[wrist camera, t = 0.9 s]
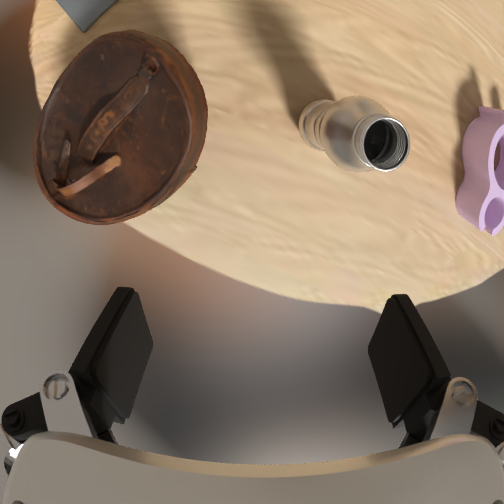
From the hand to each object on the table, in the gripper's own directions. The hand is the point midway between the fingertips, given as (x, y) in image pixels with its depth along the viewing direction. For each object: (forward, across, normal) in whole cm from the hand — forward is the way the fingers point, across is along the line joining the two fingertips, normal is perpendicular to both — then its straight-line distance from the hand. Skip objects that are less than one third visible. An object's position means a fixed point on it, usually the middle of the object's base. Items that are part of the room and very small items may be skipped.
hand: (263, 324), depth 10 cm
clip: (+30, -38, -4) cm, 48 cm away
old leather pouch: (+29, +14, -6) cm, 33 cm away
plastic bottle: (+29, -8, -6) cm, 31 cm away
